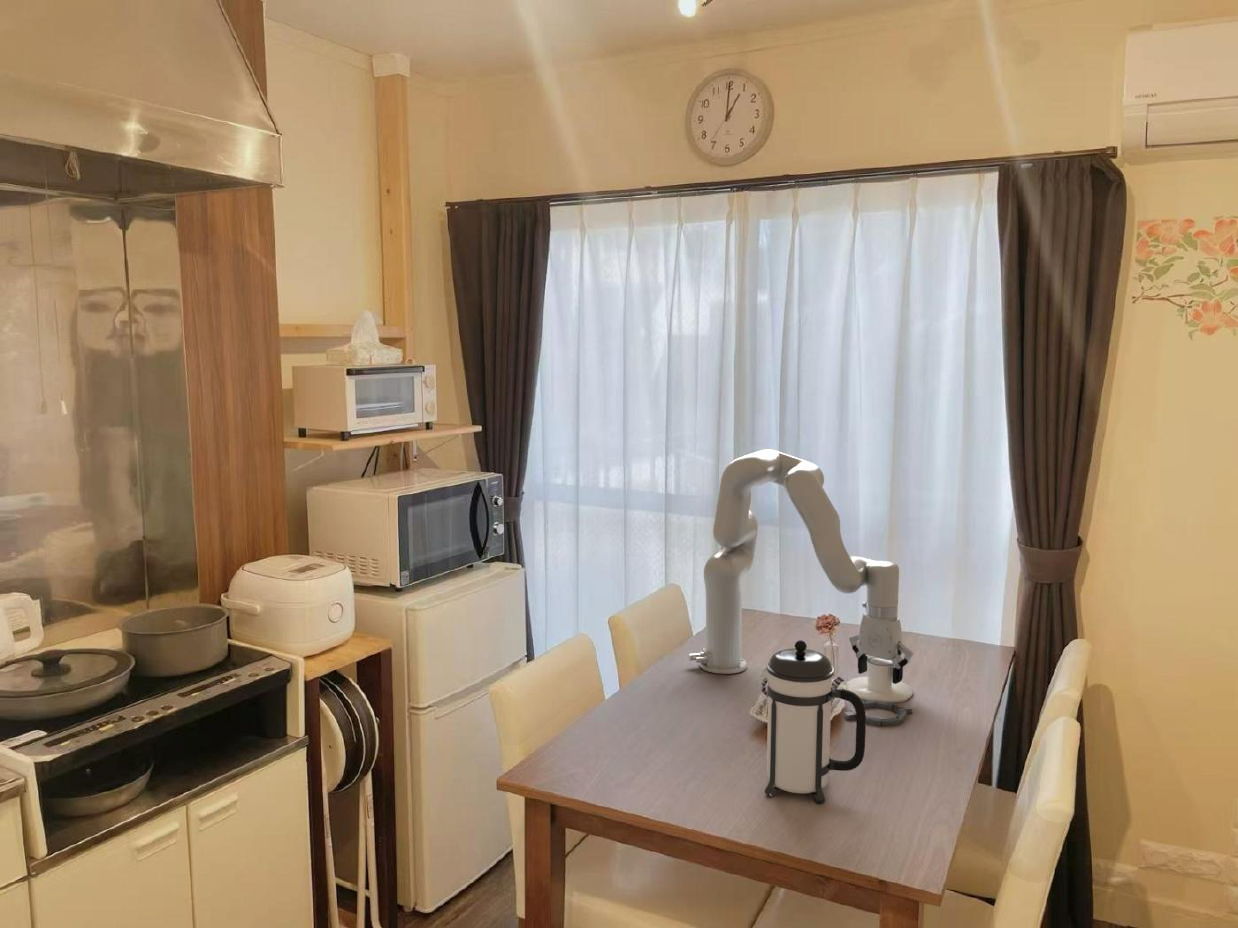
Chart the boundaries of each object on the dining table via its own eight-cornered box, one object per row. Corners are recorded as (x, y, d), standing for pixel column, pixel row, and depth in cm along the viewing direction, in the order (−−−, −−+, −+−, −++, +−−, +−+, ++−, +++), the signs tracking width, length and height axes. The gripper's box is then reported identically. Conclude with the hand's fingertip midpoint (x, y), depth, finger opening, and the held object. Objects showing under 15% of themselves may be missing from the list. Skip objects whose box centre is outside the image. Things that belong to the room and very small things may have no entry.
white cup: (896, 693, 230) (897, 666, 229) (867, 692, 231) (868, 664, 230) (891, 683, 237) (893, 656, 236) (864, 682, 238) (865, 655, 237)
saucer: (865, 705, 225) (865, 702, 224) (835, 682, 240) (835, 679, 240) (925, 699, 228) (925, 696, 228) (891, 676, 244) (891, 673, 244)
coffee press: (789, 815, 173) (793, 659, 169) (744, 778, 187) (747, 634, 183) (865, 797, 180) (870, 647, 176) (816, 763, 194) (820, 623, 190)
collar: (858, 728, 211) (858, 723, 211) (833, 708, 223) (834, 704, 223) (923, 721, 215) (924, 716, 215) (896, 702, 227) (896, 697, 226)
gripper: (843, 606, 235) (841, 672, 237) (905, 621, 223) (903, 690, 225) (859, 601, 240) (857, 665, 242) (921, 615, 228) (918, 682, 230)
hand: (879, 677), depth 234 cm, fingers open, 9 cm apart
